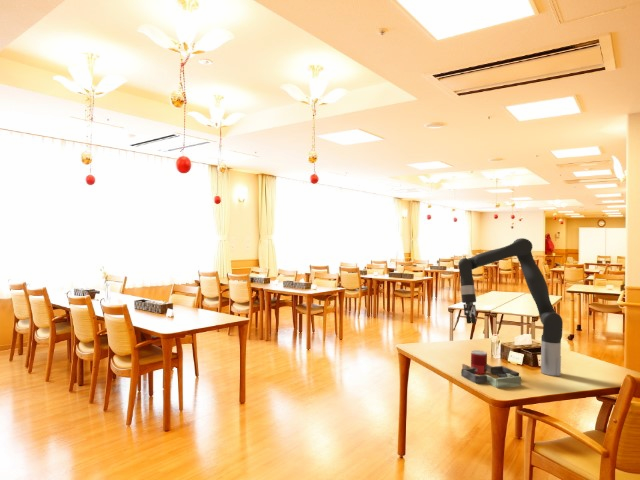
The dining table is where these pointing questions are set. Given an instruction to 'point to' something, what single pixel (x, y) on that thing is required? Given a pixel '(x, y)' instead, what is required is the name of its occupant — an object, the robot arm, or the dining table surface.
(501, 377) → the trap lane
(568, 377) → the dining table surface
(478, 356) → the canned food
